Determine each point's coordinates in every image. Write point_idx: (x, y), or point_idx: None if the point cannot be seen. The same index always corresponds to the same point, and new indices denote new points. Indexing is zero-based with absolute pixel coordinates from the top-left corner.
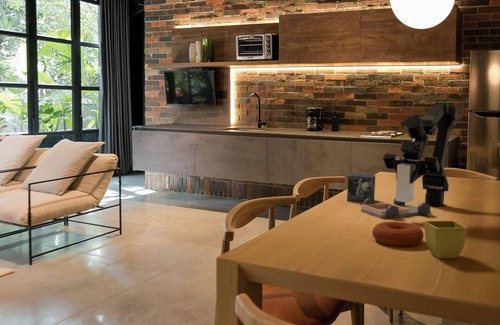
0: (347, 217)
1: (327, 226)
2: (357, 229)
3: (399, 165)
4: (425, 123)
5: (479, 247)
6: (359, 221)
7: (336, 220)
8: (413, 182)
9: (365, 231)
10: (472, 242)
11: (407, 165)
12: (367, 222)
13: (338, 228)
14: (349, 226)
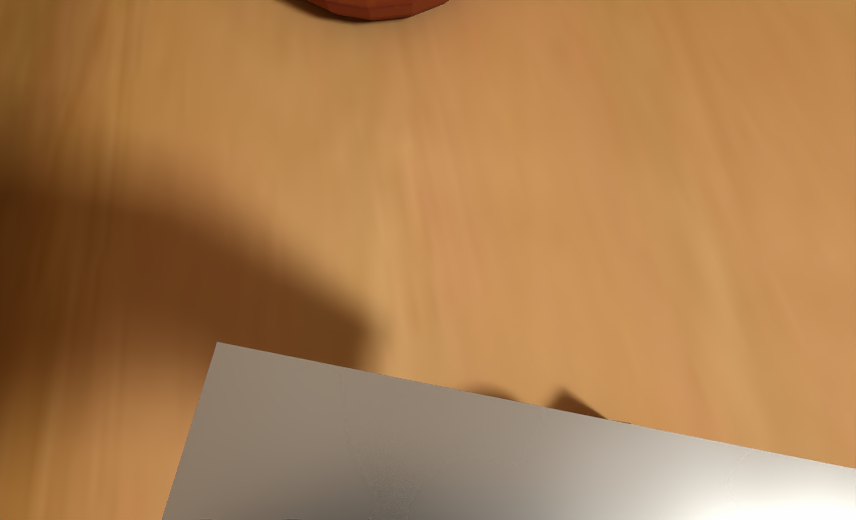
0: (834, 329)
1: (809, 40)
2: (634, 53)
3: (757, 450)
4: None
5: (4, 3)
6: (707, 248)
7: (848, 203)
8: None
9: (580, 34)
10: (22, 73)
11: (357, 424)
12: (649, 246)
13: (735, 28)
14: (703, 95)
